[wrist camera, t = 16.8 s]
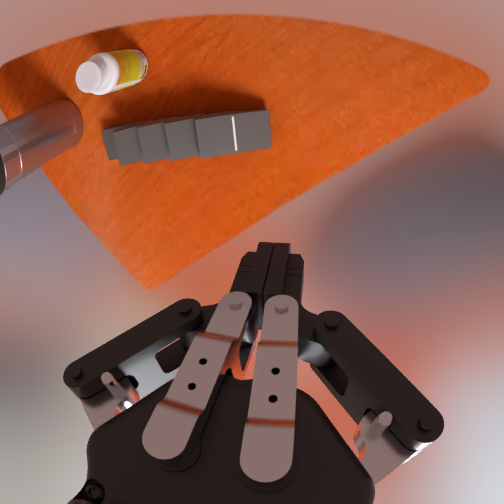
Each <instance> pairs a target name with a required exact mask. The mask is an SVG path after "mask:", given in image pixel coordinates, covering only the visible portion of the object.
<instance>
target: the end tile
mask: <svg viewBox="0 0 504 504" xmlns="http://www.w3.org/2000/svg"><path fill="white" fill-rule="evenodd" d="M154 120H157V119H151V120H145V121H139V122H133V123H128V124H122V125H117V126H112V127H108V128H106V129H104V130H102V133H103V138H104V142H105V146H106V150H107V154H108V158H109V160H113V159H119V158H118V154H117V150H116V146H115V141H114V137H113V132H114V131H115V130H118V129H122V128H126V127H130V126H134V125H138V124H142V123H146V122H150V121H154Z"/></svg>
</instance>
